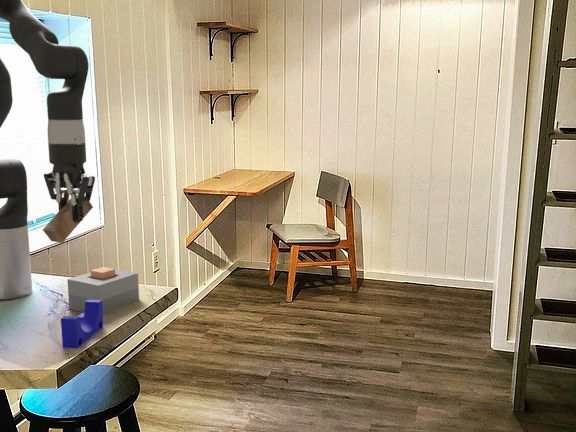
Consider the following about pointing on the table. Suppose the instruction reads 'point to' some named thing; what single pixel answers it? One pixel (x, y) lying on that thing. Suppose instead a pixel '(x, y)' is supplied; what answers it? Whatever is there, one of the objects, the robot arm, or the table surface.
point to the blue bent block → (82, 325)
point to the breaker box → (103, 290)
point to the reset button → (103, 273)
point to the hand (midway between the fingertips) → (71, 220)
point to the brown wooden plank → (64, 222)
